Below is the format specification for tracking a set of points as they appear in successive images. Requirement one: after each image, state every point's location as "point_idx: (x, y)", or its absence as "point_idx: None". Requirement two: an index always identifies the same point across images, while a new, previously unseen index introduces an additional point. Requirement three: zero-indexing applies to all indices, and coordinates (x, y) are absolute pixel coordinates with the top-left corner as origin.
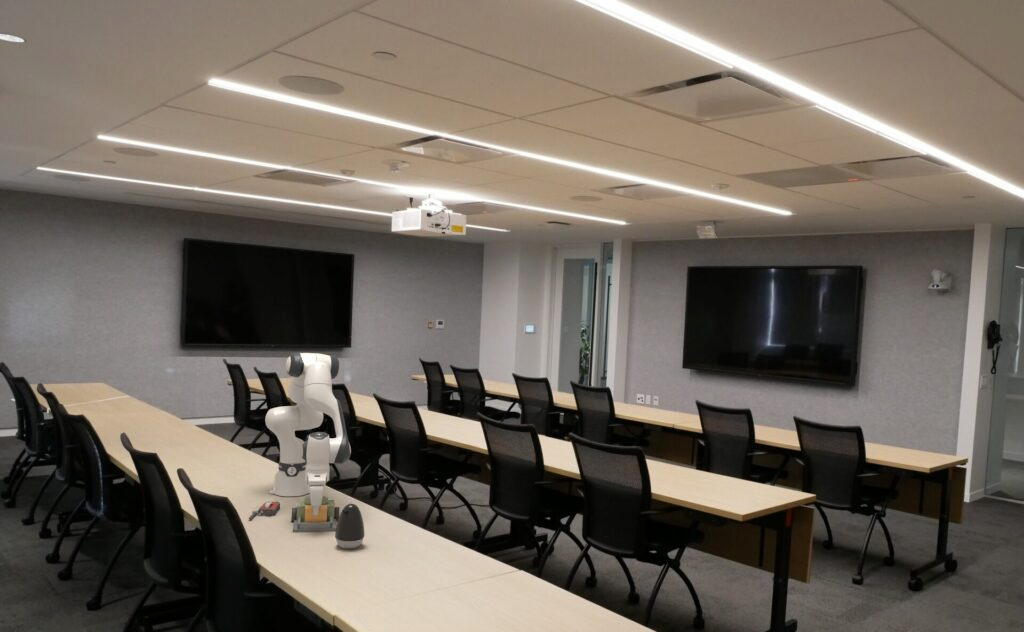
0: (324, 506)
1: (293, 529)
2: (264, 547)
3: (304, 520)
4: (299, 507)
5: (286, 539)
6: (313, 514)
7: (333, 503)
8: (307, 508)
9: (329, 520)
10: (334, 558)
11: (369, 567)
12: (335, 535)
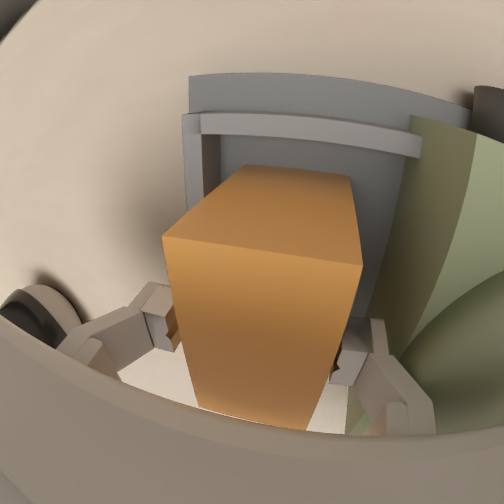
0: (253, 411)
1: (191, 82)
2: (24, 24)
3: (404, 184)
4: (462, 165)
5: (82, 72)
6: (148, 283)
7: None
8: (167, 265)
9: None
10: (2, 252)
11: (4, 299)
12: (14, 293)
